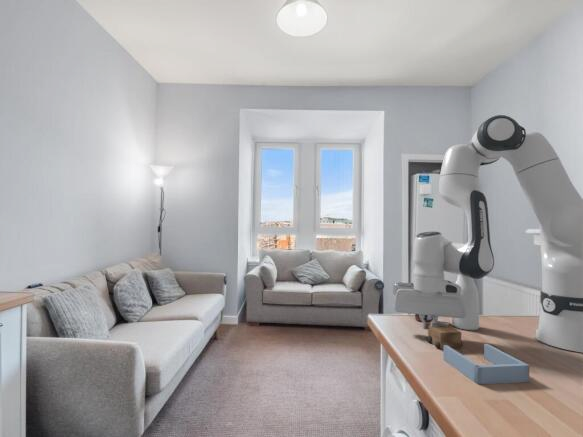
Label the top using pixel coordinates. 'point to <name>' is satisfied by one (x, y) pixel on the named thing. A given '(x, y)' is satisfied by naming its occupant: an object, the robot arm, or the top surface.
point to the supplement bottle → (427, 318)
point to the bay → (489, 366)
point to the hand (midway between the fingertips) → (428, 329)
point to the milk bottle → (468, 304)
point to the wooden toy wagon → (444, 335)
